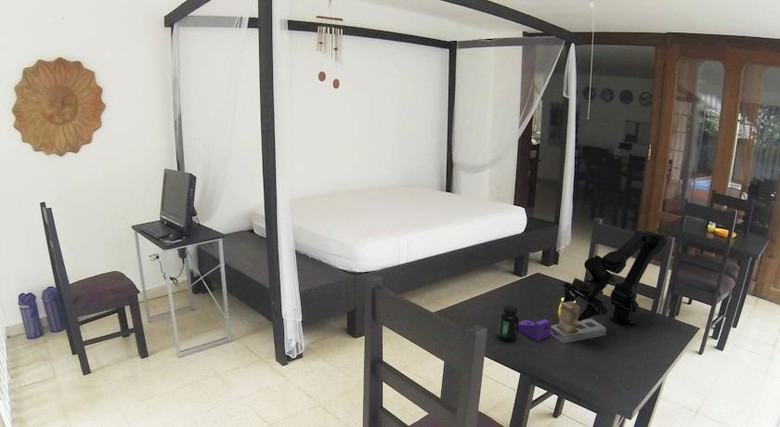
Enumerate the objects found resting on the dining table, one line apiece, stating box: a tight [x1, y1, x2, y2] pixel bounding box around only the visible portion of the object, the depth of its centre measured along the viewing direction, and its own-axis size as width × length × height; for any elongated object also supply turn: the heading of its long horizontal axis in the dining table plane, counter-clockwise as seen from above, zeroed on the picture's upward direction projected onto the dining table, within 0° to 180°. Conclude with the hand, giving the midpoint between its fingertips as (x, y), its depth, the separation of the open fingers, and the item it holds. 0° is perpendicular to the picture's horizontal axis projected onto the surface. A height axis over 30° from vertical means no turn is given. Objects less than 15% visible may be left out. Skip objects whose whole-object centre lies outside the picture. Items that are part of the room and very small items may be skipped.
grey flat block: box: [550, 318, 607, 344], centre depth 187 cm, size 20×8×3 cm, turn 111°
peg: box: [558, 301, 581, 334], centre depth 184 cm, size 4×4×13 cm
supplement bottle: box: [498, 304, 520, 342], centre depth 182 cm, size 7×7×12 cm
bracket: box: [518, 318, 552, 342], centre depth 187 cm, size 12×7×7 cm, turn 34°
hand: (569, 314), depth 183 cm, fingers open, 9 cm apart
